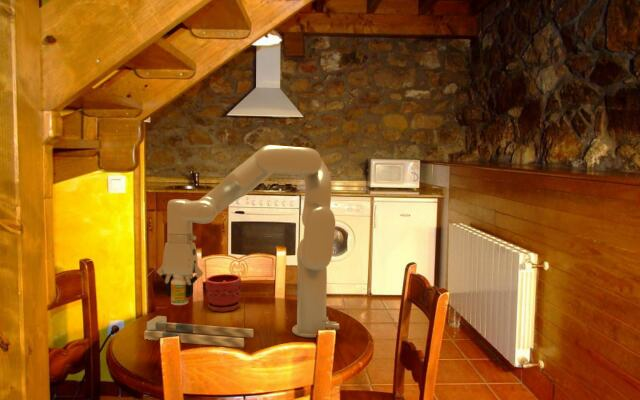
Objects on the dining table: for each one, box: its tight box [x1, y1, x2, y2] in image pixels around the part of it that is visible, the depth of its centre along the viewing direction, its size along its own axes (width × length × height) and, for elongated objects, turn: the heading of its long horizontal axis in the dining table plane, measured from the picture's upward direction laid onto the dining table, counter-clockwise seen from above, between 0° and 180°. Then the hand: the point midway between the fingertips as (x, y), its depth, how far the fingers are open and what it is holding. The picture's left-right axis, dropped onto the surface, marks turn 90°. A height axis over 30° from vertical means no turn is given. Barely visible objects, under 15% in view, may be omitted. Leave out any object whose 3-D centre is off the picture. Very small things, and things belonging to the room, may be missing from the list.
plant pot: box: [205, 273, 242, 313], centre depth 194 cm, size 13×13×12 cm
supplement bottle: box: [170, 275, 190, 306], centre depth 162 cm, size 5×5×10 cm
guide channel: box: [143, 315, 254, 348], centre depth 161 cm, size 32×10×5 cm, turn 79°
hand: (179, 295), depth 162 cm, fingers closed on supplement bottle, 5 cm apart
